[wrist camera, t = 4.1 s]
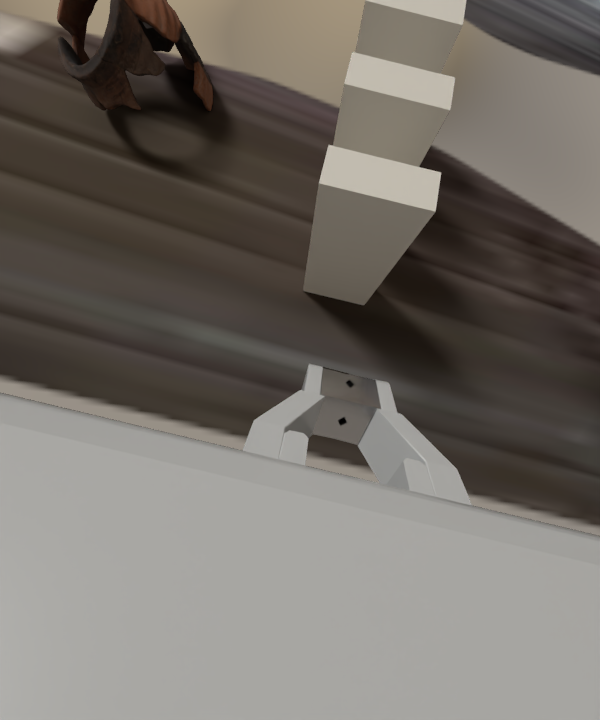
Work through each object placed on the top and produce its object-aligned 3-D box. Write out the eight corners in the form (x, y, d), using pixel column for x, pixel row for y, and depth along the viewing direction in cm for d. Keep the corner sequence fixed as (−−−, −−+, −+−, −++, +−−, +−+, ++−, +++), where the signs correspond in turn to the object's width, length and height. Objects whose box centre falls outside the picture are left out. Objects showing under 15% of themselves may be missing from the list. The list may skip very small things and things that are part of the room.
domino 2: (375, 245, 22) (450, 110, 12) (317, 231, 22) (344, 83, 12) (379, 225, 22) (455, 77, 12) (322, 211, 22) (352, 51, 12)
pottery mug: (223, 143, 23) (133, 51, 16) (151, 173, 27) (51, 110, 20) (216, -4, 22) (116, -176, 15) (142, 49, 26) (33, -68, 19)
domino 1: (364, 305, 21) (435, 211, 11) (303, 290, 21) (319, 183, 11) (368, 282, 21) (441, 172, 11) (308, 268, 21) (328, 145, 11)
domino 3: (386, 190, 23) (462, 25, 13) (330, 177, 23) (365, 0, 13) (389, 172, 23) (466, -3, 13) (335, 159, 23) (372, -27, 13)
